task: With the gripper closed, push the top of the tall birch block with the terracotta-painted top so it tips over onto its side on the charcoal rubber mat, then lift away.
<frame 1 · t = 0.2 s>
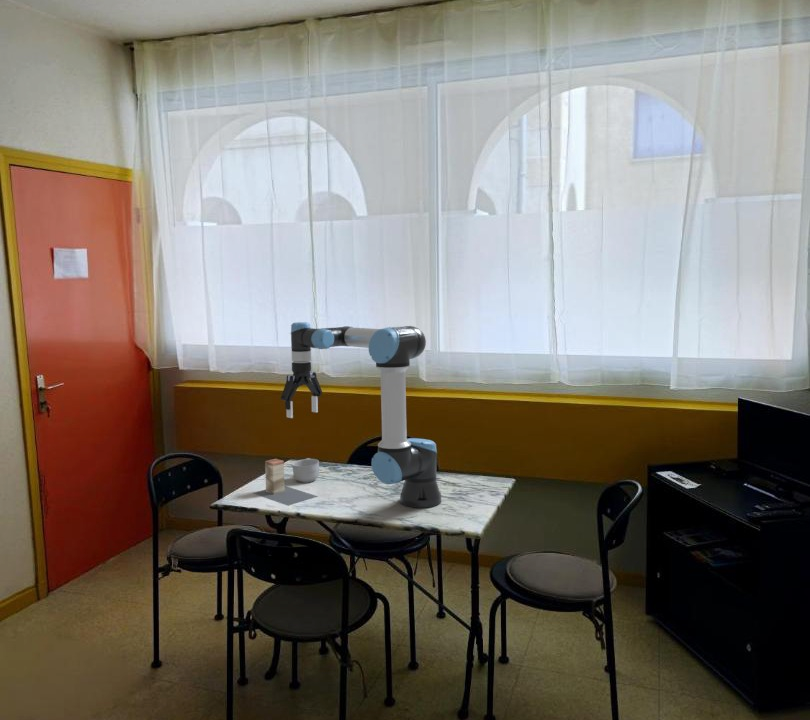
hand: (302, 414, 270), 28 cm above the table, tool pointing down, fingers open, 13 cm apart
teacup: (307, 480, 278), on the table
block: (275, 491, 262), resting on mat
mat: (285, 495, 258), on the table
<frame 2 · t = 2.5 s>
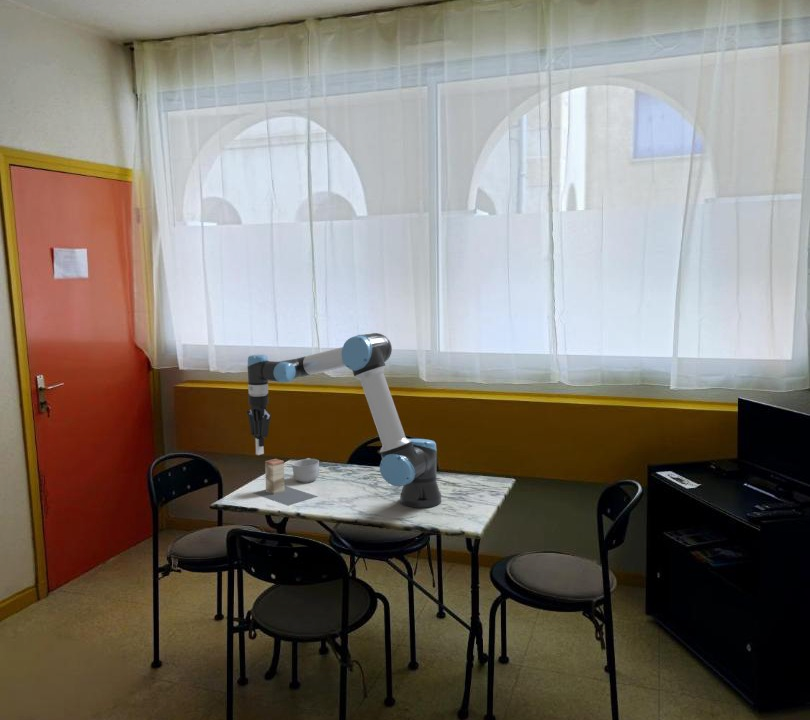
hand: (259, 454, 266), 14 cm above the table, tool pointing down, fingers closed
nothing on the table moved.
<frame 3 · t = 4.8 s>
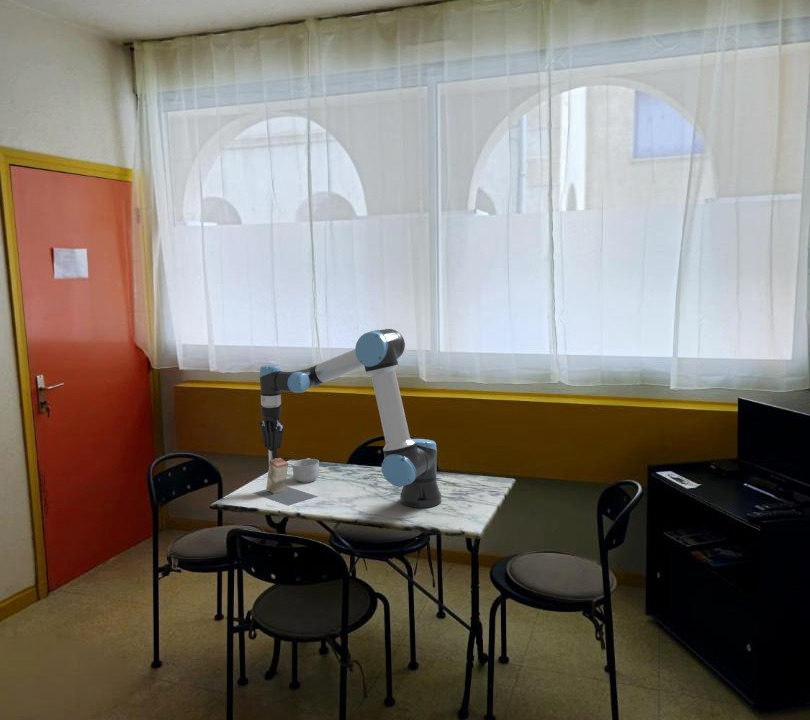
hand: (273, 466, 261), 10 cm above the table, tool pointing down, fingers closed
block: (275, 490, 261), point 1 cm above the table, tilted 14°, touching mat
everything else where it was.
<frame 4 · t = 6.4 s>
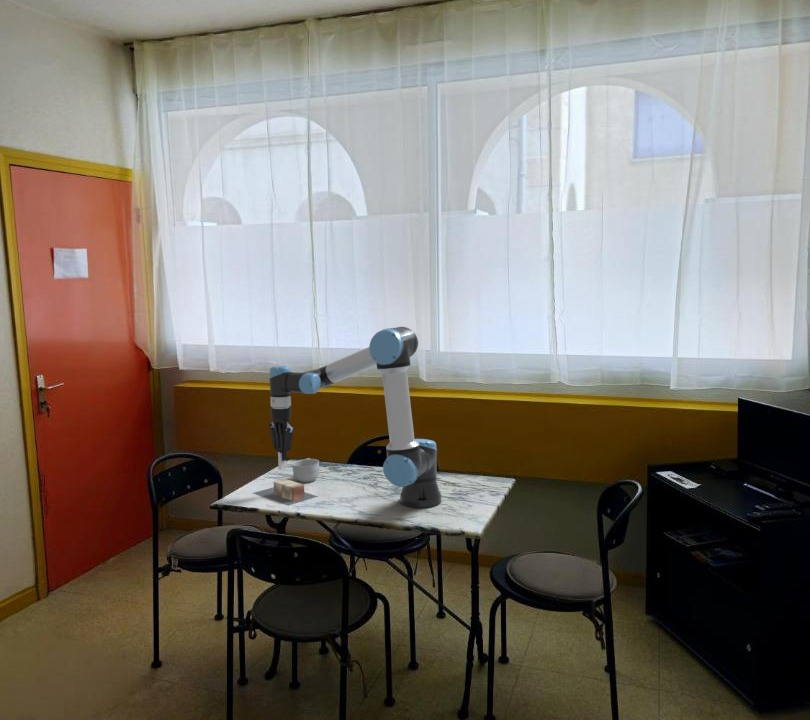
hand: (282, 468, 257), 10 cm above the table, tool pointing down, fingers closed
block: (279, 486, 260), point 3 cm above the table, tilted 90°, touching mat
everything else where it was.
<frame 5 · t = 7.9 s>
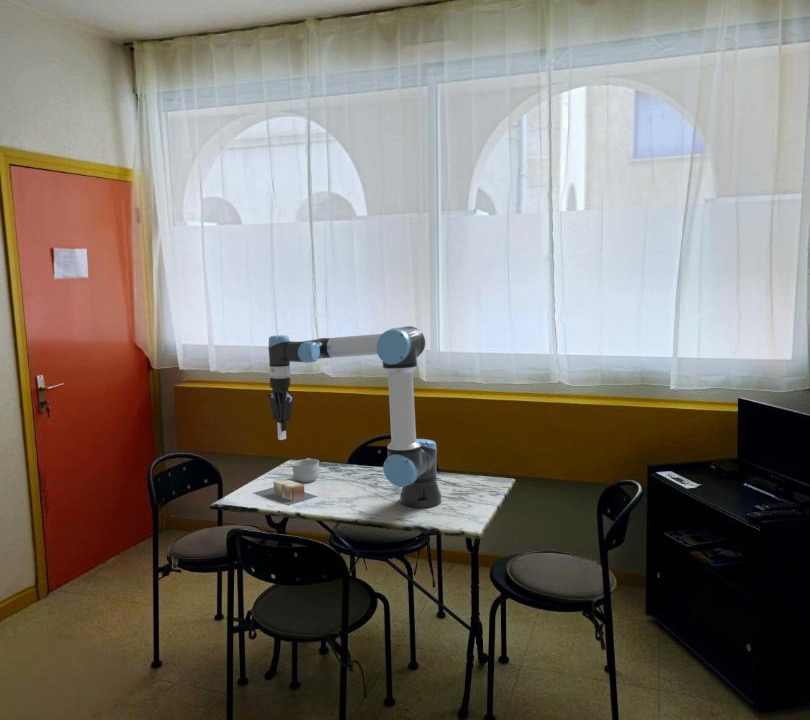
hand: (282, 439, 256), 22 cm above the table, tool pointing down, fingers closed
nothing on the table moved.
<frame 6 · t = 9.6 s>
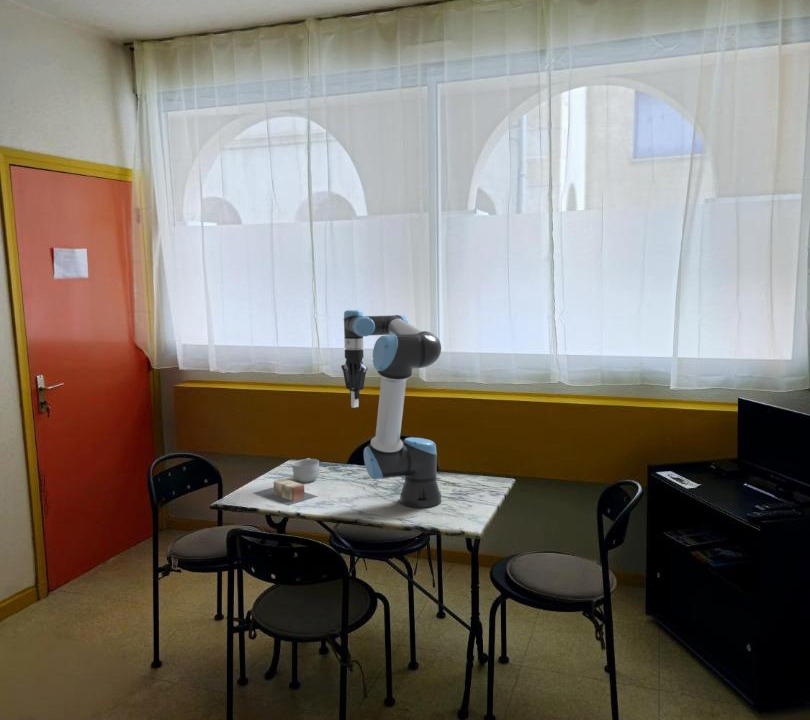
hand: (354, 406, 275), 30 cm above the table, tool pointing down, fingers closed
nothing on the table moved.
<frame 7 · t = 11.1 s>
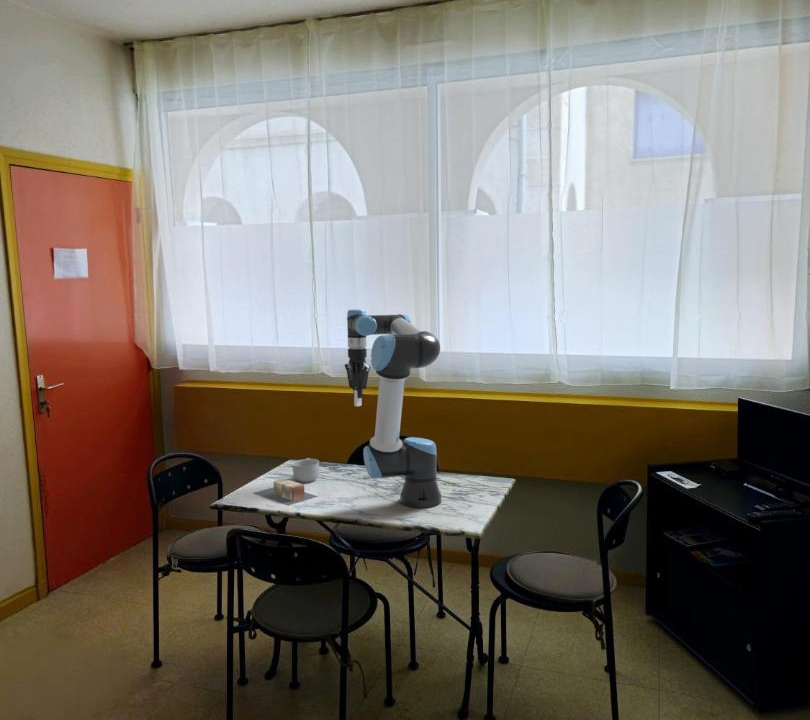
hand: (358, 405, 276), 30 cm above the table, tool pointing down, fingers closed
nothing on the table moved.
at the end: block tilted 90°; block inside the target area (1.0 cm from its centre), point 2.9 cm above the table; teacup moved 0.3 cm from its start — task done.
